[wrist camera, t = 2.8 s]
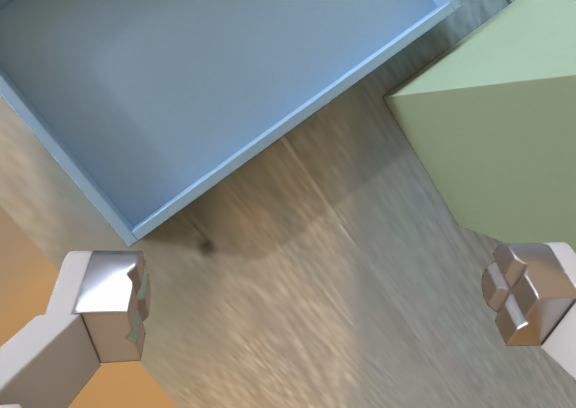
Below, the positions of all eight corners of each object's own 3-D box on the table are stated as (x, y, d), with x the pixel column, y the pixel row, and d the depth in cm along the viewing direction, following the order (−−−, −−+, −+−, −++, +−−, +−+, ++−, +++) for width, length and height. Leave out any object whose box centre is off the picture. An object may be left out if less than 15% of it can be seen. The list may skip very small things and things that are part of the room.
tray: (132, 238, 37) (129, 247, 35) (-45, 26, 32) (-64, 18, 30) (443, 13, 40) (462, 5, 38) (326, -213, 35) (338, -241, 32)
